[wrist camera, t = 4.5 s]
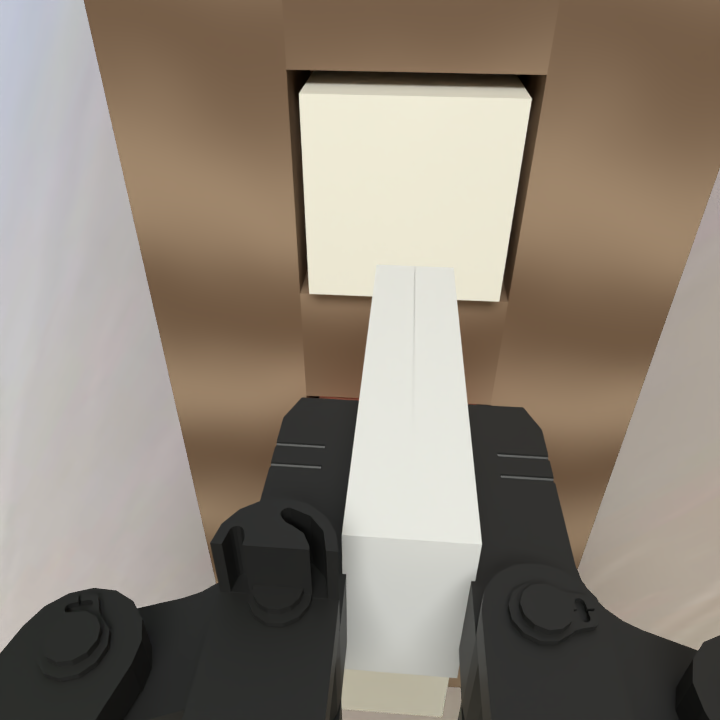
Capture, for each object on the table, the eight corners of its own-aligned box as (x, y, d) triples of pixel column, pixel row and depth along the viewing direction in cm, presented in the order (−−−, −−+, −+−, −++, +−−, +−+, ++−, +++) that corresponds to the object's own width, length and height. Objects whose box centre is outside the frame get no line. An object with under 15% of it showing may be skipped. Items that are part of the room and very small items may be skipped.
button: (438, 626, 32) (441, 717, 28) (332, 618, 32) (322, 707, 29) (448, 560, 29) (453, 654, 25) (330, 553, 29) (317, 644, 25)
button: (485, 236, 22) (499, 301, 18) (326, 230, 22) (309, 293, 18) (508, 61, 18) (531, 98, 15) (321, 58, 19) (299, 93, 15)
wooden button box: (520, 606, 36) (533, 693, 32) (255, 588, 37) (235, 670, 33) (710, -70, 17) (801, -64, 13) (146, -74, 18) (67, -70, 14)
